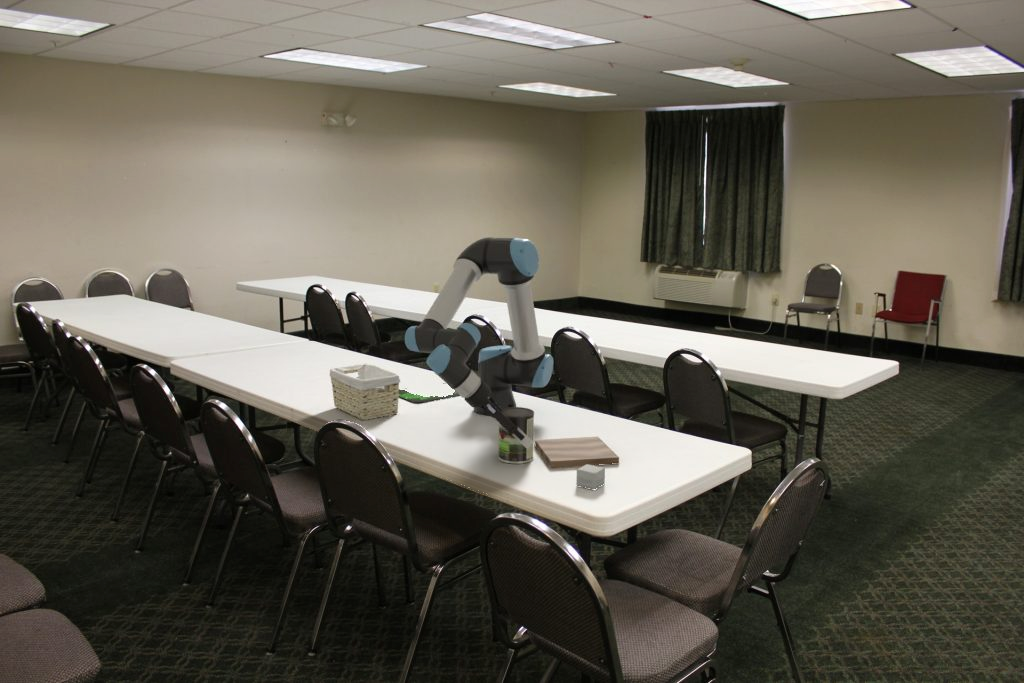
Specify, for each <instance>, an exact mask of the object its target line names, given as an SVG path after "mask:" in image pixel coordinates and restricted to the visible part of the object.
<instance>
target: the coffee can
mask: <svg viewBox="0 0 1024 683" xmlns="http://www.w3.org/2000/svg"><path fill="white" fill-rule="evenodd" d="M502 413H503V414H504V415H505V416H506V417H507V418H508V419H509V420H510V421H511V422H512V423H513V424H514V425H515V426H517V427H518V428H520V429H521V430H522V431H523V432H524V433H525V434H526V435H527V436H528V437H529V438H530V439H531V440H532V441H533V442H534V424H535V422H534V419H535V417H534V415H535V411H534V410H533V409H531V408H528V407H521V406H520V407H519V406H516V407H509V408H504V409H502ZM512 428H513V427H512ZM512 428H511V429H512ZM511 429H510V430H511ZM509 434H510V433H509V432H508V431H507V430H506V429H505V428H504V427H503V426H502V425H501V424H500V423H499V422H498V456H497V458H498V460H499V461H501V463H505V464H513V465H522V464H528V463H530V462H532V461H533V460H534V443H533V444H532V445H531V446H530V447H529V448H528V449H527V448H526V447H525V446H523V445H522V444H521V443H520V442H519V441H518V440H517V439H516V438H515V437H514V436H513V435H511V436H509Z"/></svg>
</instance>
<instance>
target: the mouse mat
mask: <svg viewBox="0 0 1024 683" xmlns="http://www.w3.org/2000/svg"><path fill="white" fill-rule="evenodd" d="M398 390H399V392H398V393H399V397H400V398H399V397H398V398H399V399H402V398H403V400H405V399H406V400H405V401H407V400H408V401H409V402H410V401H411V403H413V404H422V403H429V402H428V401H430V402H435V401H434V400H436V401H440V399H442V400H445V398H447V399H452V398H457V397H461V396H460V395H459V394H458V393H457V394H455V393H453V395H448V396H446V397H444V396H443V397H438V396H435V397H433V396H430V397H423V396H420V395H417V394H416V395H414V394H411V393H409V392H407V391H405V390H400V389H398ZM451 397H452V398H451Z"/></svg>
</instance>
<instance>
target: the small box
mask: <svg viewBox="0 0 1024 683" xmlns="http://www.w3.org/2000/svg"><path fill="white" fill-rule="evenodd" d="M605 475H606V467H602V466H598V465H594V466H593V465H588V464H586V465H584V466H580V467H579V468H577V469H576V484H575V485H577V486H581V487H586V488H590V489H596V488H598V487H599V486H601V485H603V484H604V485H605V483H606V482H605V478H606V476H605ZM604 485H603V486H604ZM577 486H576V487H577ZM581 487H580V488H581ZM590 489H589V490H590ZM598 489H599V488H598Z"/></svg>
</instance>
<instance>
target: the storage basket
mask: <svg viewBox="0 0 1024 683" xmlns="http://www.w3.org/2000/svg"><path fill="white" fill-rule="evenodd" d="M354 373H357V375H358V376H356V377H354V376H351V375H348V374H354ZM329 377H330V381H331V388H332V397H333V402H334V403H333V404H334V407H335V408H337V409H339V410H340V411H343V412H346V413H347V414H349V415H351V416H352V415H353V416H352V417H356V418H358V419H360V420H362V421H368V419H369V420H374V419H378V418H377V417H380V418H383V416H385V417H388V416H389V415H391V416H394V415H397V414H398V413H399V411H398V410H399V409H398V408H399V393H398V392H399V390H398V389H399V388H400V383H401V378H400V375H399V374H398V373H396V372H393V371H391V370H388V369H385V368H382V367H380V366H377V365H375V364H371V363H360V364H353V365H352V364H350V365H345V366H344V365H343V366H339V367H338V366H337V367H331V368H330V370H329ZM373 418H374V419H373Z"/></svg>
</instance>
